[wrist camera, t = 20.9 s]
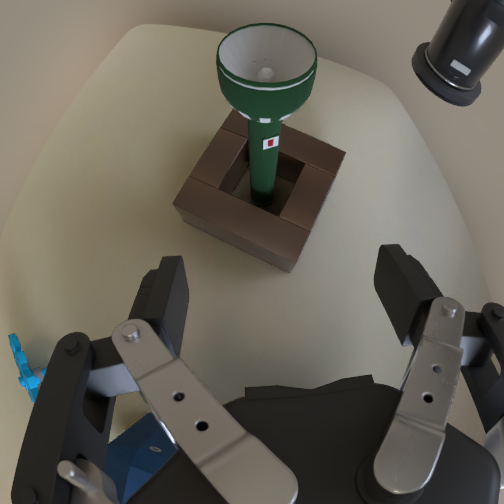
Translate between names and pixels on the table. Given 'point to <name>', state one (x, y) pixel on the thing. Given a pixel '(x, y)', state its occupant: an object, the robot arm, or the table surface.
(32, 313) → the table surface
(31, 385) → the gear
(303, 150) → the holder
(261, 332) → the table surface
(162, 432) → the radio
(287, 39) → the flashlight
